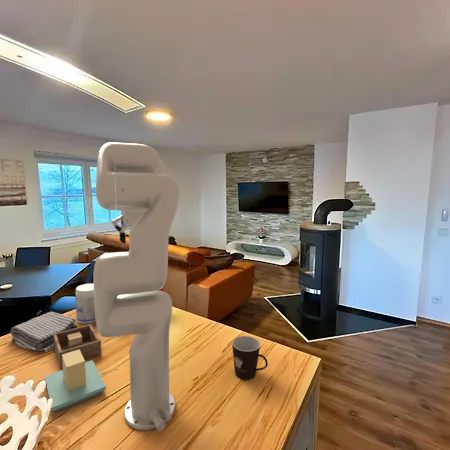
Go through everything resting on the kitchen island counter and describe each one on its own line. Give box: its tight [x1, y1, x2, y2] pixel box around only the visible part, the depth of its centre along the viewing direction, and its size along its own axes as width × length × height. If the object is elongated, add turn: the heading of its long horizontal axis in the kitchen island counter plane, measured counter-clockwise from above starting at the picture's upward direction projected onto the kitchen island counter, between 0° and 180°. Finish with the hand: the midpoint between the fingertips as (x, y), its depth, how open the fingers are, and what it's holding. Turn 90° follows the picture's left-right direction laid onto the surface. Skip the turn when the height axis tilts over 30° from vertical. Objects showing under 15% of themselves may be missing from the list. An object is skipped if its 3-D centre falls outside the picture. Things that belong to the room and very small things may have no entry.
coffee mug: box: [231, 335, 269, 381], centre depth 86 cm, size 12×9×10 cm
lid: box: [44, 349, 107, 412], centre depth 79 cm, size 15×13×9 cm
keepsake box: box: [53, 323, 102, 370], centre depth 96 cm, size 14×12×6 cm
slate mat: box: [54, 391, 102, 413], centre depth 80 cm, size 13×11×1 cm
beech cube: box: [67, 332, 82, 349], centre depth 99 cm, size 4×4×4 cm
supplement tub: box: [75, 283, 96, 324], centre depth 119 cm, size 10×10×15 cm
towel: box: [9, 311, 79, 354], centre depth 104 cm, size 15×18×8 cm
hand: (136, 241), depth 106 cm, fingers open, 9 cm apart
